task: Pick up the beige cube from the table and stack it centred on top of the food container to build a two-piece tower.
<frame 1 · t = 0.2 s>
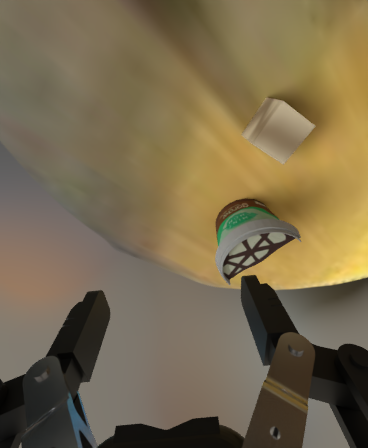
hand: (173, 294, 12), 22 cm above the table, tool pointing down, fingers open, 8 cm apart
beige cube: (267, 127, 28), on the table
food container: (232, 212, 36), on the table
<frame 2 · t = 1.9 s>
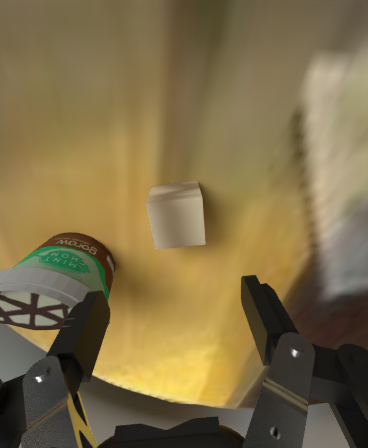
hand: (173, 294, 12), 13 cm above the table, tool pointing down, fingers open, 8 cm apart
beige cube: (177, 204, 24), on the table
food container: (78, 244, 27), on the table
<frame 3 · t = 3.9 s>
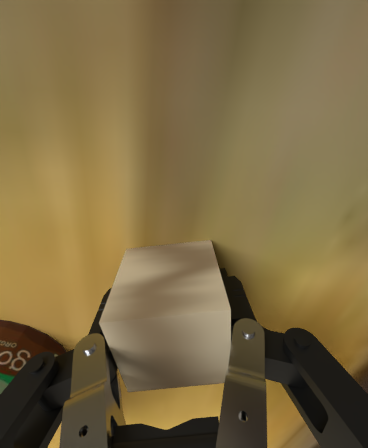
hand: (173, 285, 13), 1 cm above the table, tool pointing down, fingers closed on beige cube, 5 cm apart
beige cube: (173, 277, 14), on the table, touching gripper
food container: (5, 334, 16), on the table
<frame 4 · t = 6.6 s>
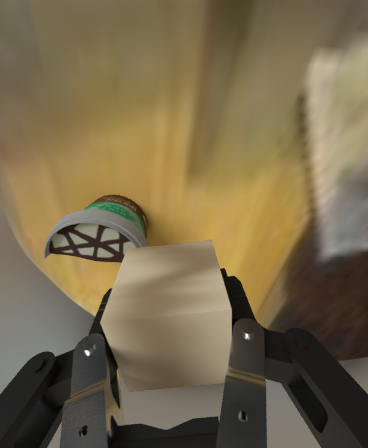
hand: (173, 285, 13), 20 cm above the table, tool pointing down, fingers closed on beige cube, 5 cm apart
beige cube: (174, 277, 14), point 19 cm above the table, touching gripper
food container: (118, 206, 32), on the table
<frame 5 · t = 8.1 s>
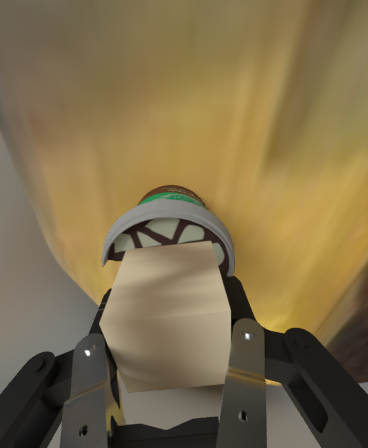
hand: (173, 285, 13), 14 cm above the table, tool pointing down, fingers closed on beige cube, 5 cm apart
beige cube: (173, 278, 14), point 14 cm above the table, touching gripper
food container: (175, 199, 26), on the table
when the fingers open (12 cm above the table, at t = 9.4 s): beige cube drops 1 cm, resting on food container.
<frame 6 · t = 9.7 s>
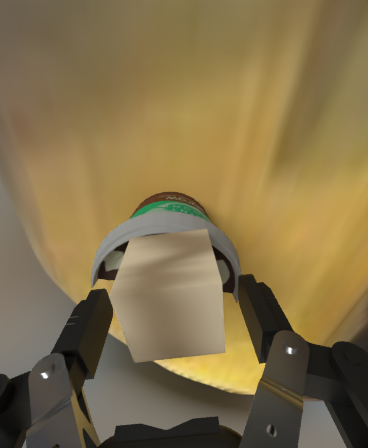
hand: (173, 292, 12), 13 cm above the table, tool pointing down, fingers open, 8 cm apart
beige cube: (173, 264, 15), point 10 cm above the table, touching food container
food container: (174, 207, 24), on the table, touching beige cube
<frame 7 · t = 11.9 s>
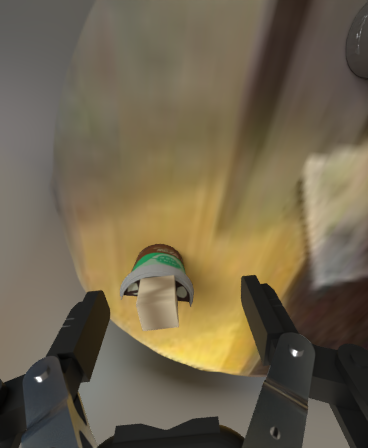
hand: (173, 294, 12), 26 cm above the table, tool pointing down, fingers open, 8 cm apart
beige cube: (159, 289, 33), point 10 cm above the table, touching food container
food container: (161, 251, 42), on the table, touching beige cube
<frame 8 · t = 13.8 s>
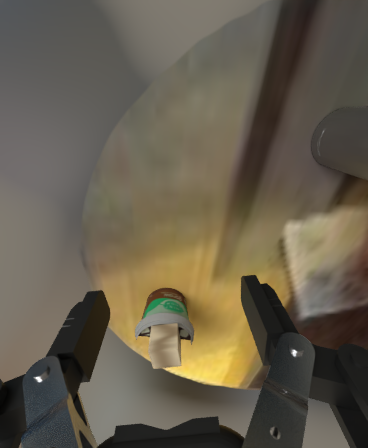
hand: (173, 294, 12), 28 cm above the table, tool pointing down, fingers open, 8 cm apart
beige cube: (166, 333, 41), point 10 cm above the table, touching food container
food container: (168, 293, 50), on the table, touching beige cube
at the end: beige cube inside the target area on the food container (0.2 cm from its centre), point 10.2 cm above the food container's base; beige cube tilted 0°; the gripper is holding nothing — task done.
